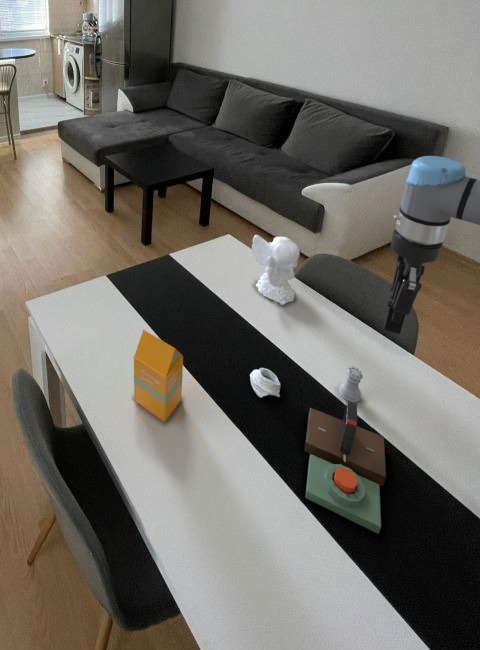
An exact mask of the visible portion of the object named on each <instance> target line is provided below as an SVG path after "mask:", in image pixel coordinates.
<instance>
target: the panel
mask: <svg viewBox="0 0 480 650" xmlns="http://www.w3.org/2000/svg"><path fill="white" fill-rule="evenodd" d="M342 420H343V419H340V418H338V417H335V416H333V415H330V414H328V413H325V412H322V411H320V410H317V409H314V408H312V407H310V408H309V411H308V416H307V425H306V432H305V433H306V434H305V443H304V452H305V453H307V454H309V455H310V454H312V455H314V456H316V457H319V458H321V459H323V460H325V461H327V462H330V463H332V464H341V465H343V466H345V467H348V468H350V469H351V470H352V471H353V472H354V473H356V474H357V475H359V476H361V477H363V478H366V479H368V480H370V481H372V482H375V483H377V484H379V486H381V487H384V484H385V481H386V479H387V471H386V470H387V469H386V451H385V437H384V436H382V435H380V434H378V433H375V432H373V431H371V430H367V429H365V428H362V427H360V426H357V429H356V433H355V437H354V440H353V444H352V448H351V451H350V454H348V453H346V452H343V451H341V450H340V435H341V424H342Z"/></svg>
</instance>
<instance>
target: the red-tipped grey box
mask: <svg viewBox="0 0 480 650" xmlns="http://www.w3.org/2000/svg"><path fill="white" fill-rule="evenodd" d="M341 420H342V424H341V435H340V450H341V451H343V452H346V453H348V454H350V451H351V448H352V444H353V440H354V437H355V433H356V429H357V427H358V403H357V402H351V401H349V400H346V404H345V408H344V412H343V416H342V419H341Z"/></svg>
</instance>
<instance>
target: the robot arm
mask: <svg viewBox="0 0 480 650" xmlns="http://www.w3.org/2000/svg"><path fill="white" fill-rule="evenodd" d="M466 175H467V173H466V167H465V166H464V164H463V163H461V162H459V161H457V160H452V159H451V158H448V157H445V156H438V155H424V156H420V157H418V158H417V157H416V159H414V160H413V161H412V163H411V166H410V170H409V173H408V176H407V177H406V179H405V183H404V189H403V193H402V197H401V202H400V205H399V211H398V214H394V215H393V219H394V221H396V223H395V227H394V230H393V233H392V235H391V241H390V248H391V250H392V251H393V252H394V253H395V254H397V255H396V264H395V265H396V266H395V269H394V273H393V274H394V275H393V278H392V283H391V288H390V292H391V295H390V301H387V304H386V305H387V311H386V315H385V319H384V323H383V330H384V331H388V332H390V333H391V332H392V333H394V334H397V335H400V334H401V332H402V328H403V325H404V321H405V319H406V318H405V317H406V315H407V316H409V315H410V314H411V310H412V308H413V305H414V303H415V300H416V298H417V295H418V293H419V292H420V290H421V289H422V288H423V287H422V286H423V285H422V283H420V280H421V278H422V276H423V275H424V273H425V265H423V264H427V263H428V264H429V263H433V262H436V261H437V260H438V259H439V257H440V255H441V251H442V248H443V242H444V241H445V239H446V236H447V233H448V230H449V226H450V224H451V218H454V219H456V220H460V221H464V222H468V223H471V224H474V225H476V226H477V225H478V226H480V179H477V178H473V177H469V176H466Z"/></svg>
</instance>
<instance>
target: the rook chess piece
mask: <svg viewBox="0 0 480 650" xmlns="http://www.w3.org/2000/svg"><path fill="white" fill-rule="evenodd" d="M363 377H364V375H363V374H362V369H361V370H360V368H359V367H356V368H355V366H354V365H351V366H350V367H348V368H347V369H346V380H345V381H344V382H342V383H341V384H340V386H339V388H338V391H339V394H340V396H341V397H342V398H343V399H344V400H346V401H347V400H349V401H351V402H354V403H357V402H360V400H361V397H362V393H361V389H360V388H359V387H360V386H359V384H361V380H362V379H363Z"/></svg>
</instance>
